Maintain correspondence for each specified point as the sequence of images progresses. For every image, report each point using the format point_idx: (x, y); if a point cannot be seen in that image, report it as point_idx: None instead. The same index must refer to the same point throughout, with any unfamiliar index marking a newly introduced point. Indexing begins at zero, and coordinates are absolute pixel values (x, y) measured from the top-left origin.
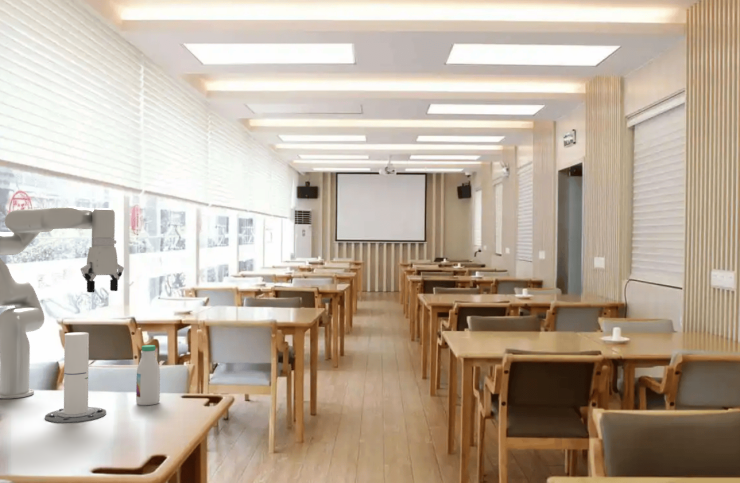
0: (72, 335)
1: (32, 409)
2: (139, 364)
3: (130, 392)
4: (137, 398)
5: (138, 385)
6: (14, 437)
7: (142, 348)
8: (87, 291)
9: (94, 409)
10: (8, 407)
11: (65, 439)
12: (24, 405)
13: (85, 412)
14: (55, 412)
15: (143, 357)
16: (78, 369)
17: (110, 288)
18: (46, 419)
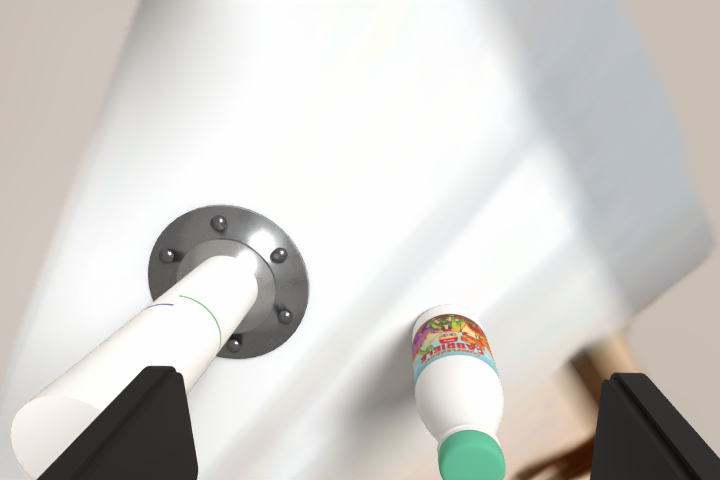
0: (30, 473)
1: (184, 104)
2: (425, 403)
3: (540, 158)
4: (413, 335)
5: (413, 363)
6: (35, 335)
7: (439, 457)
8: (150, 372)
9: (287, 287)
10: (145, 4)
11: None
12: (193, 23)
13: None
14: (197, 224)
15: (436, 434)
16: None
17: (619, 398)
18: (150, 262)
